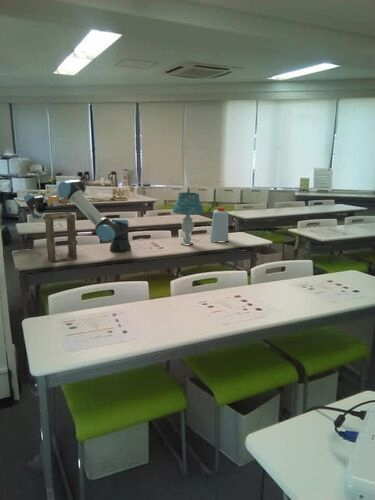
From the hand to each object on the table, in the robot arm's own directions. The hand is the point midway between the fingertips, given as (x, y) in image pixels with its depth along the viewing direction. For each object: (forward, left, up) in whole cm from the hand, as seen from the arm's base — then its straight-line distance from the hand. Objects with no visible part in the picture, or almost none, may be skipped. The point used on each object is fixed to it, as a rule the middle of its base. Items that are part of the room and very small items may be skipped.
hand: (48, 196), depth 251 cm
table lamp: (-96, +32, -39) cm, 108 cm away
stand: (0, +21, -38) cm, 44 cm away
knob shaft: (0, +2, -4) cm, 5 cm away
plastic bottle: (-126, +37, -39) cm, 137 cm away
